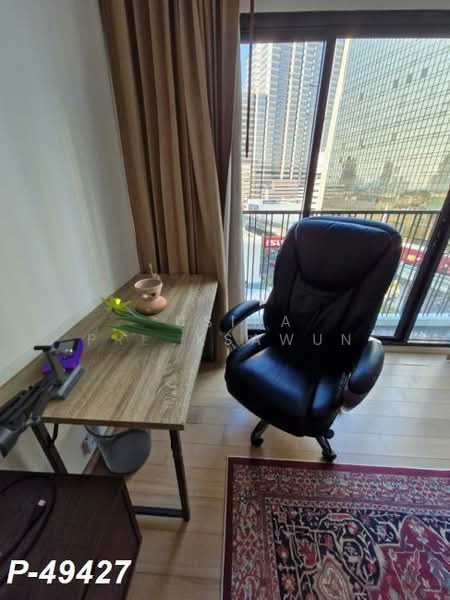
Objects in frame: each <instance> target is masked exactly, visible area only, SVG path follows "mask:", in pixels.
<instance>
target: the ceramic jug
mask: <svg viewBox="0 0 450 600" xmlns="http://www.w3.org/2000/svg"><path fill="white" fill-rule="evenodd" d="M162 285H163V282H162V280H161V279H160V280H159V279H153V278H150V279H147V278H145V279H141V280H139V281H137V282H136V283H134V289H135V291H136V293H137V294H138V295H139V297H140V298H139V300H138V301H137V302H136V304H135V307H136V309H137V311H138V313H141V314H145V315H152V314H153V315H154V314H157V313H160V312H162V311H164V310H165V309H166V307H167V306H168V301H167V299H166V298H165V297H164V296H161V295H160V294H161V291H162V287H163V286H162Z"/></svg>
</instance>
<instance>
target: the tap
mask: <svg viewBox="0 0 450 600" xmlns="http://www.w3.org/2000/svg"><path fill="white" fill-rule="evenodd" d="M32 349H33V350H34V351H41V352H42V355H43V357H44V359H45V363H46V362H47V364H48V366H49V369H50V370H55V373H56V375H57V378H56V379H55V383H54V385H55V386H62V385H63V384H64V383H65V382H66V380H67V379H68V377H66V376H65V373H64V371H63V368H62V365H61V363H60V360H59V358H58V355H71V354H72V353H73V350H72V349H55V348H54V347H53V345H50V344H47V345H45V344H44V345H34V346H33V348H32Z"/></svg>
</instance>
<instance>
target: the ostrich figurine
mask: <svg viewBox="0 0 450 600" xmlns="http://www.w3.org/2000/svg"><path fill="white" fill-rule="evenodd" d="M147 267H148V268H149V273H150V274H149V275H147V276H146V279H150V278H153V279H159V280H160V281H161V279H162V278H161V276H160V275H159V274H158V273H155V272H153V267H152V263H148V264H147Z"/></svg>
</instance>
